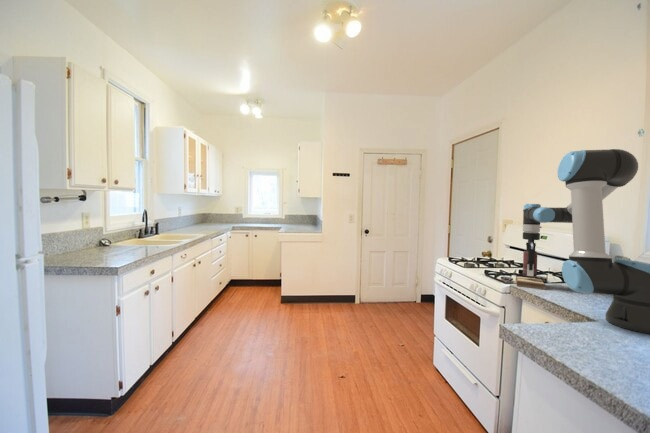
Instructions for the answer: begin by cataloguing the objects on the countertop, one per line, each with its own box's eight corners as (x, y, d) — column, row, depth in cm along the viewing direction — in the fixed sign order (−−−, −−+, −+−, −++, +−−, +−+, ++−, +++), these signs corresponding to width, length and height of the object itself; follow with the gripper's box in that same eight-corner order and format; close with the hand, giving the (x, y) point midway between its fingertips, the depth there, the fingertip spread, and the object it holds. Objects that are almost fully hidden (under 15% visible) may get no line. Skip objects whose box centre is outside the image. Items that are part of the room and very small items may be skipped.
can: (523, 276, 150) (524, 251, 150) (522, 274, 156) (522, 249, 156) (537, 278, 148) (538, 252, 147) (535, 275, 153) (536, 250, 153)
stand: (545, 289, 143) (545, 284, 142) (516, 286, 149) (517, 280, 149) (541, 284, 153) (542, 279, 153) (515, 281, 159) (515, 276, 159)
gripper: (542, 233, 141) (540, 279, 142) (537, 231, 155) (536, 273, 156) (524, 232, 145) (522, 277, 146) (521, 230, 159) (520, 271, 160)
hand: (529, 275), depth 151 cm, fingers open, 3 cm apart
